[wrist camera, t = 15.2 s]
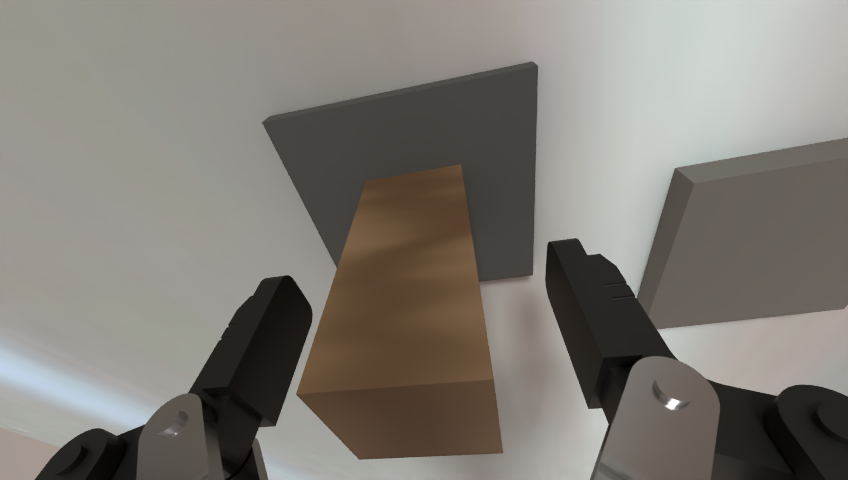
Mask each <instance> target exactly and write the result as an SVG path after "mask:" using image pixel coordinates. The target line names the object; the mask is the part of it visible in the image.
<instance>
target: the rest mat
mask: <svg viewBox="0 0 848 480" xmlns="http://www.w3.org/2000/svg"><path fill="white" fill-rule="evenodd" d="M537 80H538V65H536V64H535V63H534V62H529V63H524V64H519V65H514V66H509V67H505V68H500V69H495V70H490V71H486V72H481V73H476V74H471V75H466V76H462V77H457V78H452V79H447V80H442V81H438V82H433V83H428V84H423V85H418V86H414V87H409V88H404V89H399V90H395V91H390V92H385V93H380V94H375V95H371V96H366V97H361V98H356V99H351V100H347V101H342V102H337V103H332V104H327V105H323V106H318V107H313V108H308V109H304V110H299V111H294V112H289V113H284V114H280V115H275V116H270V117H268V118H267V119H266V120H265V121H264V122H262V123H263V125H264V127H265V129H266V131H267V133H268V135H269V137H270V139H271V141H272V143H273V145H274V147H275V149H276V151H277V152H278V154H279V156H280V158H281V160H282V162H283V164H284V166H285V168H286V170H287V172H288V174H289V176H290V178H291V180H292V182H293V184H294V186H295V187H296V189H297V191H298V193H299V195H300V197H301V199H302V201H303V203H304V205H305V207H306V209H307V211H308V213H309V215H310V217H311V219H312V220H313V222H314V224H315V226H316V228H317V230H318V232H319V234H320V236H321V238H322V240H323V242H324V244H325V246H326V248H327V250H328V252H329V254H330V255H331V257H332V259H333V261H334V263H335V265H336V267H337V268H338V265H339V262H340V259H341V256H342V253H343V250H344V247H345V244H346V241H347V237H348V234H349V231H350V228H351V225H352V222H353V219H354V216H355V213H356V210H357V207H358V204H359V201H360V198H361V195H362V192H363V189H364V186H365V182H366V181H367V180H373V179H379V178H385V177H390V176H396V175H402V174H408V173H414V172H419V171H425V170H431V169H437V168H442V167H448V166H454V165H460V164H461V167H462V174H463V180H464V187H465V193H466V200H467V207H468V213H469V220H470V227H471V233H472V240H473V246H474V253H475V260H476V266H477V273H478V280H479V282H480V281H488V280H497V279H505V278H514V277H522V276H531V275H533V245H534V203H535V162H536V121H537Z"/></svg>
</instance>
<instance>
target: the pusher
mask: <svg viewBox="0 0 848 480" xmlns="http://www.w3.org/2000/svg"><path fill="white" fill-rule="evenodd" d="M296 395H297V396H298V397H299V398H300V399H301V400H302V401H303V402H304V403H305V404H306V405H307V406H308V407H309V408H310V409H311V410H312V411H313V412H314V413H315V414H316V415H317V416H318V417H319V418H320V419H321V421H322V422H323V423H324V424H325V425H326V426H327V427H328V428H329V429H330V430H331V431H332V432H333V433H334V434H335V435H336V436H337V437H338V438H339V439H340V440H341V441H342V442H343V443H344V444H345V445H346V446H347V447H348V448H349V449H350V451H351V452H352V453H353V454H354V455H355V456H356V457H357V458H358V459H382V458H405V457H427V456H450V455H473V454H495V453H503V449H502V442H501V434H500V426H499V418H498V410H497V402H496V394H495V387H494V379H493V372H492V366H491V359H490V352H489V346H488V339H487V332H486V326H485V319H484V313H483V306H482V299H481V293H480V286H479V280H478V273H477V266H476V260H475V253H474V246H473V240H472V233H471V227H470V220H469V213H468V207H467V200H466V193H465V187H464V180H463V174H462V167H461V164H460V165H454V166H448V167H442V168H437V169H431V170H425V171H419V172H414V173H408V174H402V175H396V176H390V177H385V178H379V179H373V180H367V181H366V182H365V186H364V189H363V192H362V195H361V198H360V201H359V204H358V207H357V210H356V213H355V216H354V219H353V222H352V225H351V228H350V231H349V234H348V237H347V241H346V244H345V247H344V250H343V253H342V256H341V259H340V262H339V265H338V268H337V271H336V274H335V277H334V280H333V283H332V286H331V289H330V292H329V295H328V299H327V302H326V305H325V308H324V311H323V314H322V317H321V320H320V323H319V326H318V329H317V332H316V335H315V338H314V341H313V344H312V347H311V350H310V354H309V357H308V360H307V363H306V366H305V369H304V372H303V375H302V378H301V381H300V384H299V387H298V390H297V393H296Z"/></svg>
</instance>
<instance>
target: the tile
mask: <svg viewBox="0 0 848 480" xmlns="http://www.w3.org/2000/svg"><path fill="white" fill-rule="evenodd" d="M637 299H638V301H639V303H640V304H641V306H642V307H643V309H644V310H645V312H646V314H647V315H648V317H649V318H650V320H651V321H652V323H653V325H654V326H655V328H656V329H664V328H673V327H682V326H692V325H701V324H710V323H719V322H728V321H737V320H747V319H756V318H765V317H774V316H783V315H793V314H802V313H811V312H820V311H829V310H839V309H844V308H845V307H846V306H847V305H848V138H843V139H838V140H832V141H826V142H821V143H815V144H809V145H804V146H798V147H792V148H787V149H781V150H775V151H770V152H764V153H758V154H753V155H747V156H741V157H736V158H730V159H724V160H719V161H713V162H707V163H702V164H696V165H690V166H685V167H679V168H675V170H674V174H673V177H672V180H671V184H670V187H669V191H668V194H667V197H666V201H665V204H664V208H663V211H662V214H661V218H660V221H659V225H658V228H657V232H656V235H655V238H654V242H653V245H652V249H651V252H650V255H649V259H648V262H647V266H646V269H645V272H644V276H643V279H642V283H641V286H640V290H639V293H638V296H637Z"/></svg>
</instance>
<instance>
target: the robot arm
mask: <svg viewBox="0 0 848 480" xmlns="http://www.w3.org/2000/svg"><path fill="white" fill-rule="evenodd" d="M545 281H546V289H547V294H548V298H549V301H550V303H551V306H552V309H553V312H554V314H555V317H556V320H557V323H558V325H559V328H560V331H561V334H562V337H563V339H564V342H565V345H566V348H567V350H568V353H569V356H570V359H571V362H572V364H573V367H574V370H575V373H576V375H577V378H578V381H579V384H580V386H581V389H582V392H583V395H584V398H585V400H586V403H587V406H588V409H595V408H603V411H604V413H605V416H606V418H607V421H608V424H609V425H608V428H607V431H606V434H605V436H604V439H603V442H602V445H601V448H600V451H599V454H598V457H597V460H596V463H595V466H594V469H593V472H592V475H591V478H590V480H848V397H847V396H845V395H843V394H841V393H838V392H836V391H833V390H830V389H827V388H823V387H819V386H813V385H795V386H791V387H788V388H787V389H785V390H783V391H782V392H781V393H780V394H779V395H778V396H775V395H770V394H765V393H760V392H755V391H751V390H746V389H741V388H736V387H731V386H727V385H723V384H719V383H716V382H713V381H710V380H708V379H706V378H704V377H703V376H702V375H701V374H700V373H699V372H697V371H696V370H695V369H693V368H692V367H690V366H688V365H687V364H685V363H683V362H680V361H678V359H677V358H676V357H675V356H674V355H673V354H672V352H671V351H670V350H669V348H668V347H667V345H666V343H665V342H664V340H663V339H662V337H661V336H660V334H659V332H658V331H657V329H656V328H655V326H654V325H653V323H652V321H651V320H650V318H649V317H648V315H647V314H646V312H645V310H644V309H643V307H642V306H641V304H640V303H639V301H638V299H637V298H635V295H634V293H633V292H632V290H631V288H630V287H629V285H627V284H626V281H625V279H624V277H623V276H622V274H621V273H620V271H619V269H618V268H617V266H615V265H614V264H613V263H611V262H610V261H609V260H607V259H606V258H605V257H603V256H602V255H601V254H596V255H587V254H586V252H585V250H584V248H583V246H582V245H581V243H580V241H579V240H578V239H577V238H574V239H566V240H559V241H551V242H549V243H548V245H547V260H546V277H545ZM311 323H312V309H311V306H310V304H309V302H308V301H307V299H306V298H305V296H304V295H303V293H302V292H301V290H300V289H299V287H298V285H297V284H296V282H295V281H294V279H293V278H292V277H291V276H288V275H287V276H279V277H271V278H265V279H263V280H262V281H261V282H260V284H259V286H258V288H257V289H256V291H255V293H254V295H253V296H250V297H249V298H248V299H247V300H246V301H245V302H244V303H243V304H242V306H241V307H240V308H239V309H238V310H237V311H236V313H235V314H234V316H233V318H232V320H231V321H230V323H229V327H228V328H226V330H225V331H224V333H223V335H222V337H221V340H220V341H219V342H218V343H217V345H216V347H215V348H214V350H213V352H212V354H211V355H210V357H209V359H208V360H207V362H206V364H205V365H204V367H203V369H202V371H201V372H200V374H199V376H198V377H197V379H196V381H195V382H194V384H193V386H192V388H191V389H190V391H189V392H188V393H187V394H182V395H179V396H177V397H175V398H173V399H171V400H170V401H168V402H167V403H165V404H164V405H163V406H162V407H160V408H159V409H158V410H157V411H156V412H155V413H154V414H153V415H152V417H151V418H150V419H149V420H148V422H147V423H146V424H145V425H143V426H140V427H138V428H135V429H133V430H130V431H128V432H125V433H123V434H120V435H118V436H116V435H114V434H112V433H110V432H108V431H106V430H103V429H100V428H96V429H91V430H88V431H86V432H84V433H82V434H80V435H78V436H77V437H75V438H74V439H72V440H71V441H69V442H68V443H67V444H66V445H64V446H63V447H62V448H61V449H60V450H59V451H58V452H57V453H56V454H55V455H54V456H53V457H52V458H51V459H50V461H49V462H48V463H47V464H46V466H45V467H44V468H43V470H42V471H41V472H40V474H39V475H38V476H37V478H36V479H35V480H268V476H267V472H266V468H265V464H264V460H263V456H262V452H261V448H260V444H259V442H258V440H257V438H255V436H256V433H257V431H258V428H259V427H270V426H276V423H277V420H278V418H279V415H280V412H281V409H282V406H283V403H284V400H285V398H286V395H287V392H288V389H289V386H290V383H291V380H292V378H293V375H294V372H295V369H296V366H297V363H298V360H299V358H300V355H301V352H302V349H303V346H304V343H305V340H306V338H307V335H308V332H309V329H310V326H311Z"/></svg>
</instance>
